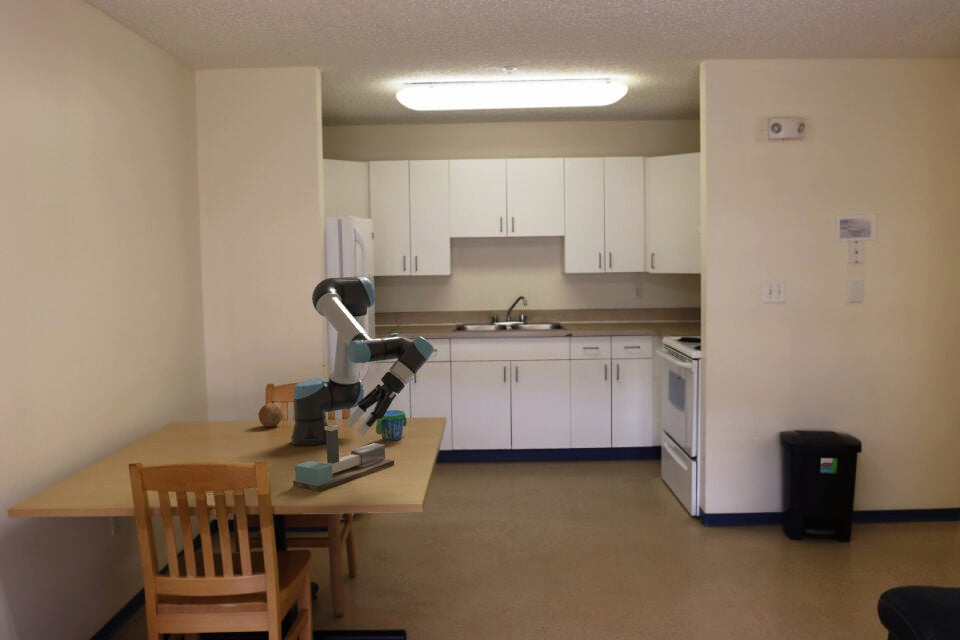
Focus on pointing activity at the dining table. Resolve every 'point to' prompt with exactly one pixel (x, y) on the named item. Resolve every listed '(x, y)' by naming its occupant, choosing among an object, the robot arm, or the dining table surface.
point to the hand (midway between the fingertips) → (354, 429)
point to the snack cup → (391, 425)
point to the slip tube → (333, 452)
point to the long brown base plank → (356, 467)
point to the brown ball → (270, 415)
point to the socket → (313, 473)
